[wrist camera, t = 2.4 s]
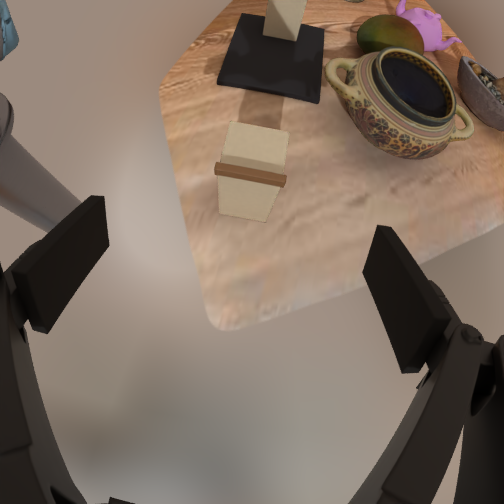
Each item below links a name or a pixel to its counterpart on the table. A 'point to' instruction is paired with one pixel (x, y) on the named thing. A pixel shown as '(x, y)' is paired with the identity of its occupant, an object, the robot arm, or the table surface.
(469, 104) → the planter
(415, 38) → the fruit
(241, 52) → the base
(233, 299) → the table surface
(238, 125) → the cream rectangular block
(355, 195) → the table surface
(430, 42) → the teapot
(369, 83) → the ceramic bowl
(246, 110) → the table surface
